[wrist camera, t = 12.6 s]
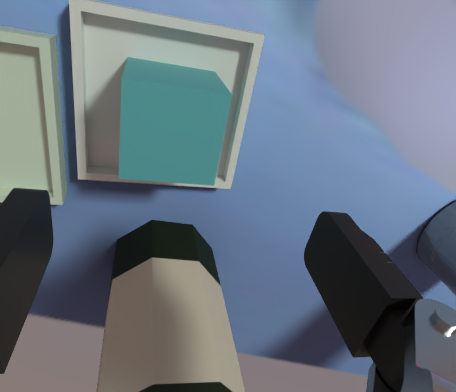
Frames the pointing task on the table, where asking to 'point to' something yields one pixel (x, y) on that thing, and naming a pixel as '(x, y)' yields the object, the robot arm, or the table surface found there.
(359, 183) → the table surface
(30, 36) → the green tray
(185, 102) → the teal block
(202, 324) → the wine bottle
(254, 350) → the table surface
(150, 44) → the grey tray
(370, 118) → the table surface
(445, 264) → the robot arm
